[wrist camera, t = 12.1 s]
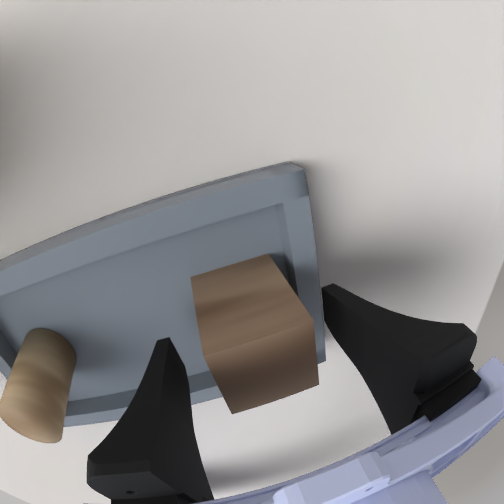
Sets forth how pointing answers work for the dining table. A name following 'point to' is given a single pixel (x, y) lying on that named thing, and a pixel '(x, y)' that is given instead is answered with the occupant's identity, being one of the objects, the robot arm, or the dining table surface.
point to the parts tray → (154, 282)
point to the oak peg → (39, 386)
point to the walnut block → (254, 333)
